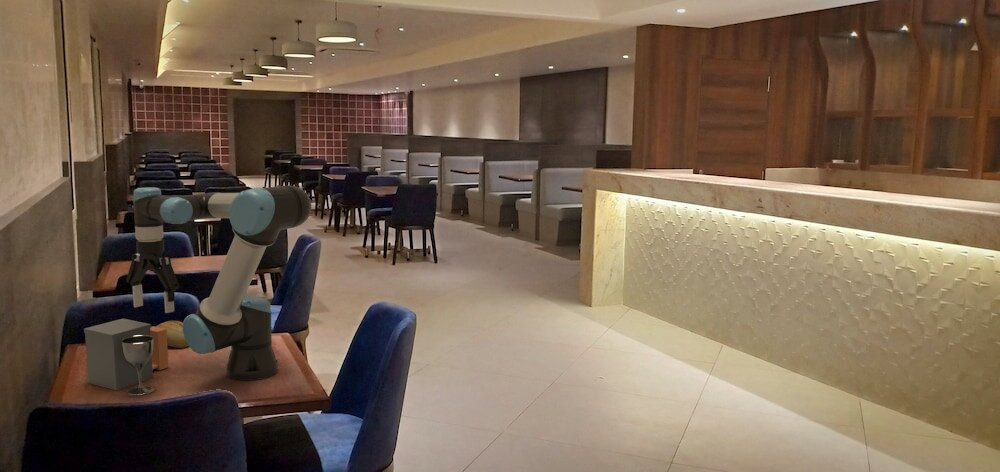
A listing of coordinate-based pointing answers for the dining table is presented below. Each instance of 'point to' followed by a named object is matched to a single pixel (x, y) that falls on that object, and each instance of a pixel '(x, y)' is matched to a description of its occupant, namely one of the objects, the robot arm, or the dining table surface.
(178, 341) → the bread roll
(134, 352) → the wine glass
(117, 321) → the gray box
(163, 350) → the l-shaped block
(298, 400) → the dining table surface
